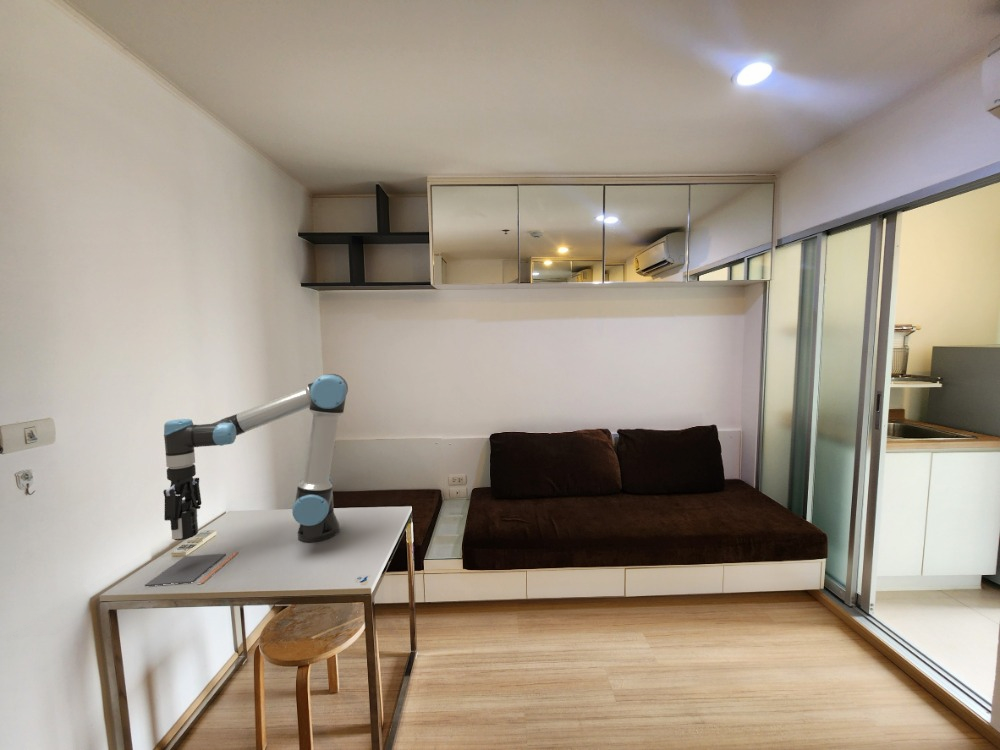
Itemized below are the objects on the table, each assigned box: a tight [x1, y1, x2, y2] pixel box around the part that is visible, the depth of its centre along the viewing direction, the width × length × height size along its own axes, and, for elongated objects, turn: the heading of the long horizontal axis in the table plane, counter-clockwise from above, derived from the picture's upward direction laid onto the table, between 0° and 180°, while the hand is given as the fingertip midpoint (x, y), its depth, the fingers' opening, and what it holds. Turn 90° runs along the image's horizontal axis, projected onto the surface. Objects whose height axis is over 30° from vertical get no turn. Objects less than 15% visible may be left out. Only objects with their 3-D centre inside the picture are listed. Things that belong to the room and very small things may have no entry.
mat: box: [144, 553, 227, 587], centre depth 135 cm, size 14×18×1 cm
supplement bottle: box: [173, 498, 199, 541], centre depth 134 cm, size 7×7×12 cm
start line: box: [197, 551, 239, 584], centre depth 136 cm, size 2×20×1 cm, turn 5°
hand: (185, 533), depth 134 cm, fingers closed on supplement bottle, 7 cm apart
